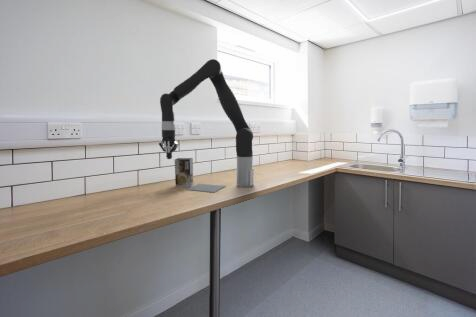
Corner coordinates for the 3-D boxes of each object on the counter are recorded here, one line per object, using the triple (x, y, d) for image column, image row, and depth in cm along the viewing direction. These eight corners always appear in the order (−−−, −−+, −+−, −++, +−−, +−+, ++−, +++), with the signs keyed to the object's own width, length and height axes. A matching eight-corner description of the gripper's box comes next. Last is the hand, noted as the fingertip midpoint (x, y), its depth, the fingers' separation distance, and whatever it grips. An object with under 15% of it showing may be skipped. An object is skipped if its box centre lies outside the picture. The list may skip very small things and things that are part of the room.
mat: (226, 186, 151) (226, 185, 151) (214, 192, 137) (214, 192, 137) (199, 184, 158) (199, 183, 157) (185, 189, 144) (185, 189, 144)
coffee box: (193, 185, 155) (193, 157, 153) (190, 187, 149) (190, 159, 147) (178, 184, 156) (177, 157, 154) (175, 187, 150) (174, 159, 148)
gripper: (181, 129, 153) (182, 158, 155) (162, 129, 158) (163, 157, 160) (174, 129, 146) (175, 160, 148) (154, 129, 151) (155, 159, 153)
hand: (169, 158), depth 154 cm, fingers closed
